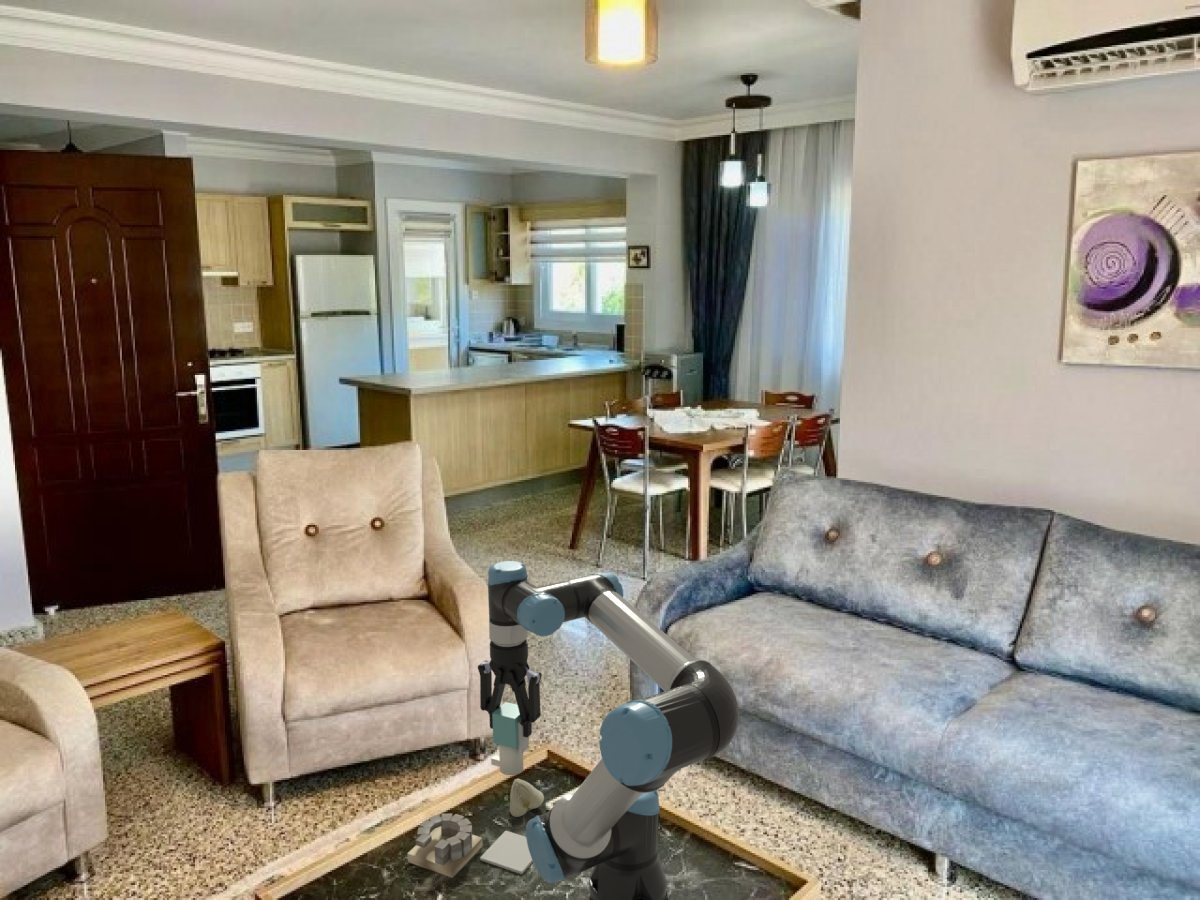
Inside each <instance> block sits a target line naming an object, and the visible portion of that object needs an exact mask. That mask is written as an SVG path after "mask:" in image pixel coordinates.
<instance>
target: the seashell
mask: <svg viewBox="0 0 1200 900" xmlns="http://www.w3.org/2000/svg"><path fill="white" fill-rule="evenodd" d="M509 795H510V796H509V800H510V801H509V804H510V806H509V812H510V814H511V816H513V817H514V818H515V817H516V818H518V817H522V816H525V814H526V813H527V812H529V811H531V810H533V809H537V808H539V807H540V806H541V805H542V804H543V802H544V800H545V797H544V794H543V792H542V791H540V790H538V789H537V788H536V787H535V786H533V784H531V783H529V782H528V781H526V780H523V779H520V778H515V779H514V780H513V782H512V785H511V789H510V794H509Z"/></svg>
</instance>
